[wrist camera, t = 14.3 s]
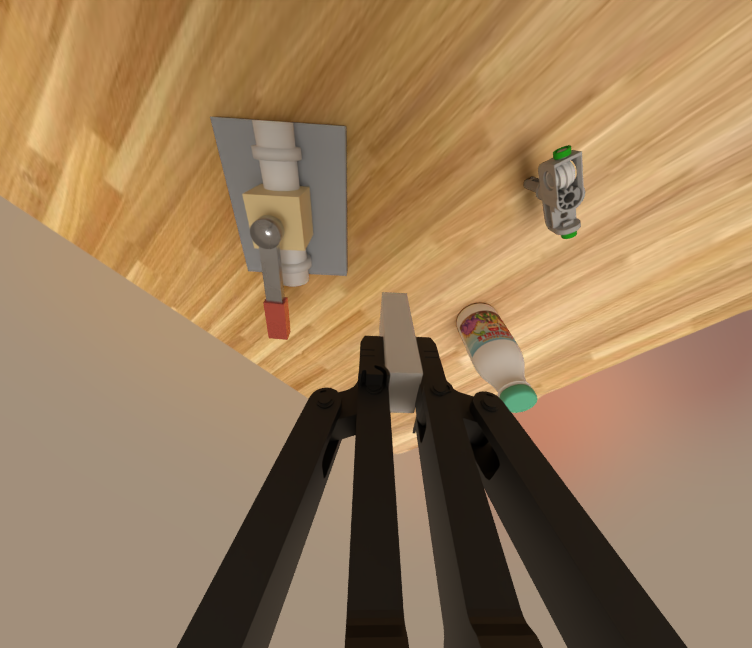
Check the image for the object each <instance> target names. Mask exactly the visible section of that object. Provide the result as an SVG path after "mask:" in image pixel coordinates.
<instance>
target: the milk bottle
mask: <svg viewBox="0 0 752 648" xmlns="http://www.w3.org/2000/svg"><path fill="white" fill-rule="evenodd" d="M457 328H458V331H459V333H460V336H461V338H462V340H463V343H464V345H465V347H466V350H467V352H468V354H469V357H470V359H471V361H472V363H473V365H474V367H475V369H476V371H477V372H478V374H479V375H480V376H481V377H482V378H483V379H484V380H485V381H487V382H488V383H489V384H491V385H492V386H493V387H494V388H495V389H496V390H497V392H498V397H499V398H500V399H501V400H502V401H503V402H504V403H505V405H506V406H507V407H508V409H509V410H510V411H511V412H513V413H514V412H515V413H517V412H523V411H526V410H528V409H530V408H532V407H533V406H534V405H535V404H536V402H537V395H536V394H535V392H534V390H533V389H532V388H531V385H530V384H529V383H527V382H526V379H525V374H524V358H523V355H522V352H521V350H520V348H519V346H518V345H517V343H516V341H515V340H514V338H513V336H512V335H511V333H510V332H509V330H508V329H507V327H506V326H505V324H504V323H503V321H502V320H501V318H500V317H499V315H498V314H497V312H496V311H495V309H494V308H493V307H491V306H490V305H487V304H482V303H477V304H473V305H470V306H468V307H466V308H465V309H464V310H462V312H461V313H460V314H459V316H458V318H457Z"/></svg>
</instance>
